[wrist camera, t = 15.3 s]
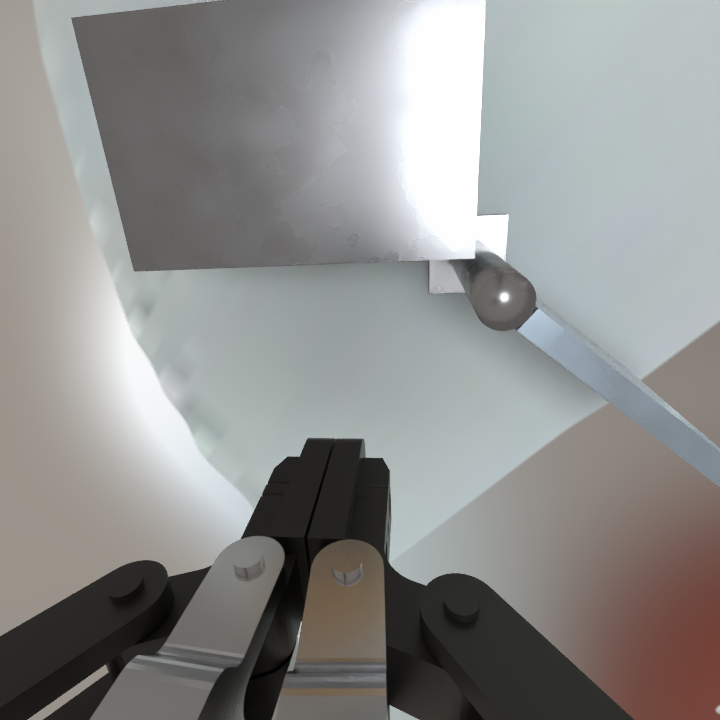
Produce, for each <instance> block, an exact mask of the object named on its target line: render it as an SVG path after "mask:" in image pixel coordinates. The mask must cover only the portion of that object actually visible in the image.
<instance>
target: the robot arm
mask: <svg viewBox="0 0 720 720" xmlns="http://www.w3.org/2000/svg"><path fill="white" fill-rule="evenodd" d="M390 531H391V495H390V470H389V469H388V467H387V465H386V464H385V462H384V460H383V458H366V457H365V443H364V439H335V438H308V439H307V440H306V443H305V445H304V448H303V450H302V453H301V455H300V457H287V458H286V459H284V460H283V461H282V462H281V463H280V464H279V465H278V466H276V467H275V468H274V470H273V472H272V474H271V477H270V479H269V481H268V485H266V487H265V489H264V491H263V493H262V497H261V498H260V500H259V502H258V504H257V506H256V508H255V510H254V512H253V515H252V517H251V519H250V521H249V523H248V525H247V527H246V529H245V531H244V534H243V536H242V538H241V540H238V541H236V542H234V543H232V544H231V545H229V546H228V547H227V548H225V549H224V550H223V551H222V552H221V553H220V554H219V556H218V557H217V558H216V560H215V562H214V564H213V565H212V566H209V567H207V568H204V569H201V570H197V571H193V572H188V573H184V574H179V575H175V576H171V577H168V574H167V571H166V569H165V567H164V566H163V565H162V564H160V563H158V562H155V561H149V560H143V561H136V562H132V563H129V564H126V565H124V566H121V567H119V568H117V569H116V570H114V571H112V572H110V573H109V574H107V575H105V576H104V577H102V578H100V579H98V580H97V581H95V582H93V583H91V584H90V585H88V586H86V587H84V588H83V589H81V590H79V591H78V592H76V593H74V594H72V595H71V596H69V597H67V598H66V599H64V600H62V601H60V602H59V603H57V604H55V605H54V606H52V607H50V608H48V609H47V610H45V611H43V612H42V613H40V614H38V615H36V616H35V617H33V618H31V619H30V620H28V621H26V622H24V623H23V624H21V625H19V626H17V627H16V628H14V629H12V630H10V631H9V632H7V633H5V634H4V635H2V636H0V720H27V719H29V718H30V717H32V716H33V715H34V714H36V713H37V712H39V711H40V710H41V709H43V708H44V707H46V706H47V705H49V704H50V703H51V702H53V701H54V700H56V699H57V698H58V697H60V696H61V695H63V694H64V693H66V692H67V691H68V690H70V689H71V688H73V687H74V686H75V685H77V684H78V683H80V682H81V681H82V680H84V679H85V678H87V677H88V676H90V675H91V674H92V673H94V672H95V671H97V670H98V669H100V668H101V667H102V666H104V665H105V664H106V666H107V669H108V671H109V673H107V674H106V675H105V676H103V677H102V678H100V679H99V680H98V681H96V682H95V683H93V684H92V685H91V686H89V687H88V688H87V689H85V690H84V691H82V692H81V693H80V694H78V695H77V696H75V697H74V698H73V699H71V700H70V701H68V702H67V703H66V704H65V705H63V706H62V707H60V708H59V709H57V710H56V711H55V712H53V713H52V714H51V715H49V716H48V717H46V718H45V719H43V720H390V705H391V706H393V707H395V708H397V709H399V710H401V711H404V712H405V713H407V714H409V715H411V716H413V717H415V718H417V719H420V720H634V719H633V718H631V717H630V716H629V715H628V714H627V713H626V712H625V711H624V710H623V709H622V708H621V707H620V706H619V705H617V704H616V703H615V702H614V701H613V700H612V699H611V698H610V697H609V696H607V694H605V693H604V692H603V691H602V690H601V689H600V688H599V687H598V686H597V685H596V684H595V683H593V682H592V681H591V680H590V679H589V678H588V677H587V676H586V675H585V674H584V673H583V672H581V671H580V670H579V669H578V668H577V667H576V666H575V665H574V664H573V663H572V662H571V661H570V660H569V659H568V658H566V657H565V656H564V655H563V654H562V653H561V652H560V651H559V650H558V649H557V648H556V647H554V646H553V645H552V644H551V643H550V642H549V641H548V640H547V639H546V638H545V637H544V636H543V635H541V634H540V633H539V632H538V631H537V630H536V629H535V628H534V627H533V626H531V624H529V623H528V622H527V621H526V620H525V619H524V618H523V617H522V616H521V615H520V614H519V613H517V612H516V611H515V610H514V609H513V608H512V607H511V606H510V605H509V604H508V603H507V602H506V601H504V600H503V599H502V598H501V597H500V596H499V595H498V594H497V593H496V592H495V591H494V590H493V589H491V588H490V587H489V586H488V585H487V584H485V583H484V582H482V581H481V580H479V579H477V578H475V577H472V576H469V575H466V574H459V573H456V574H455V573H453V574H446V575H442V576H439V577H437V578H435V579H433V580H432V581H431V582H429V583H428V585H427V586H425V585H422V584H420V583H417V582H414V581H411V580H409V579H407V578H405V577H403V576H402V575H400V574H399V573H398V572H396V571H395V570H394V569H393V568H392V567H391V565H390V564H389V547H390ZM301 621H302V626H301V632H300V638H299V644H298V637H297V635H298V631H299V627H300V623H301Z"/></svg>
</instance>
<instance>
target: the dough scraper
mask: <svg viewBox="0 0 720 720" xmlns="http://www.w3.org/2000/svg"><path fill="white" fill-rule="evenodd" d="M450 263H451V265H452V267H453V269H454V271H455V273H456V275H457V277H458V279H459V281H460V283H461V285H462V287H463V289H464V291H465V292H466V294H467V296H468V298H469V300H470V302H471V304H472V306H473V308H474V310H475V312H476V314H477V316H478V318H479V319H480V320H481V322H482V323H483V324H484V325H486V326H487V327H489V328H491V329H494V330H500V331H506V330H511V329H516V330H517V331H518V332H519V333H520V334H522V335H523V336H524V337H526V338H527V339H528V340H530V341H531V342H532V343H533V344H535V345H536V346H537V347H539V348H540V349H541V350H543V351H544V352H545V353H546V354H548V355H549V356H550V357H552V358H553V359H554V360H555V361H557V362H558V363H559V364H561V365H562V366H563V367H565V368H566V369H567V370H568V371H570V372H571V373H572V374H574V375H575V376H576V377H578V378H579V379H580V380H581V381H583V382H584V383H585V384H587V385H588V386H589V387H590V388H592V389H593V390H594V391H596V392H597V393H598V394H600V395H601V396H602V397H603V398H605V399H606V400H607V401H609V402H610V403H611V404H612V405H614V406H615V407H617V408H618V409H619V410H620V411H622V412H623V413H624V414H625V415H627V416H628V417H629V418H631V419H632V420H633V421H635V422H636V423H637V424H639V425H640V426H641V427H642V428H644V429H645V430H646V431H648V432H649V433H650V434H651V435H653V436H654V437H655V438H657V439H658V440H659V441H660V442H662V443H663V444H664V445H666V446H667V447H668V448H670V449H671V450H672V451H673V452H675V453H676V454H677V455H679V456H680V457H681V458H683V459H684V460H685V461H687V462H688V463H689V464H690V465H692V466H693V467H694V468H695V469H697V470H698V471H699V472H701V473H702V474H703V475H704V476H706V477H707V478H708V479H710V480H711V481H712V482H714V483H715V484H716V485H717V486H719V487H720V448H719V447H718V446H716V445H715V444H714V443H713V442H712V441H710V440H709V439H708V438H707V437H706V436H705V435H704V434H702V433H701V432H700V431H699V430H698V429H696V428H695V427H694V426H693V425H692V424H691V423H689V422H688V421H687V420H686V419H685V418H684V417H682V416H681V415H680V414H679V413H678V412H677V411H675V410H674V409H673V408H672V407H671V406H670V405H668V404H667V403H666V402H665V401H664V400H663V399H661V398H660V397H659V396H658V395H657V394H655V393H654V392H653V391H652V390H651V389H650V388H649V387H647V386H646V385H645V384H644V383H643V382H642V381H640V380H639V379H638V378H637V377H635V376H634V375H633V374H631V373H630V372H629V371H628V370H626V369H625V368H624V367H623V366H621V365H620V364H619V363H618V362H616V361H615V360H614V359H613V358H611V357H610V356H609V355H608V354H606V353H605V352H604V351H602V350H601V349H600V348H599V347H597V346H596V345H595V344H594V343H592V342H591V341H590V340H589V339H587V338H586V337H585V336H584V335H582V334H581V333H580V332H578V331H577V330H576V329H575V328H573V327H572V326H571V325H570V324H568V323H567V322H566V321H565V320H563V319H562V318H561V317H560V316H558V315H557V314H556V313H555V312H553V311H552V310H551V309H549V308H548V307H547V306H546V305H544V304H543V303H542V302H541V301H539V300H538V299H537V298H536V293H535V290H534V287H533V286H532V284H531V283H530V281H528V280H527V279H526V278H525V277H524V276H523V275H521V274H520V273H519V272H518V271H516V270H515V269H514V268H513V267H511V266H510V265H509V264H508V263H507V262H505V261H504V260H503V259H502V258H500V257H499V256H498V255H497V254H495V253H494V252H493V251H492V250H491V249H489V248H488V247H487V246H486V245H484V244H483V243H482V242H481V241H479V240H478V239H476V241H475V259H450Z"/></svg>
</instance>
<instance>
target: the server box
mask: <svg viewBox="0 0 720 720" xmlns="http://www.w3.org/2000/svg"><path fill="white" fill-rule="evenodd" d="M485 9H486V0H223V1H214V2H205V3H196V4H188V5H179V6H170V7H162V8H153V9H144V10H135V11H127V12H118V13H109V14H101V15H92V16H83V17H74V18H71V19H72V23H73V27H74V31H75V35H76V39H77V43H78V47H79V51H80V55H81V59H82V63H83V67H84V71H85V75H86V79H87V83H88V87H89V91H90V95H91V99H92V103H93V107H94V112H95V116H96V120H97V124H98V128H99V132H100V136H101V140H102V144H103V148H104V152H105V156H106V160H107V164H108V168H109V172H110V176H111V180H112V184H113V188H114V192H115V196H116V200H117V204H118V208H119V212H120V216H121V221H122V225H123V229H124V233H125V237H126V241H127V245H128V249H129V253H130V257H131V261H132V265H133V269H134V271H160V270H186V269H213V268H239V267H265V266H292V265H318V264H344V263H370V262H397V261H423V260H429V293H463V292H465V291H464V289H463V287H462V285H461V283H460V281H459V279H458V277H457V275H456V273H455V271H454V269H453V267H452V265H451V263H450V259H475V241H476V239H478V240H479V241H481V242H482V243H483V244H484V245H486V246H487V247H488V248H489V249H491V250H492V251H493V252H494V253H495V254H497V255H498V256H499V257H500V258H502V259H503V260H504V261H505V259H506V245H507V230H508V216H509V215H508V214H499V215H479V216H477V195H478V172H479V148H480V125H481V102H482V79H483V55H484V32H485Z"/></svg>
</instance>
